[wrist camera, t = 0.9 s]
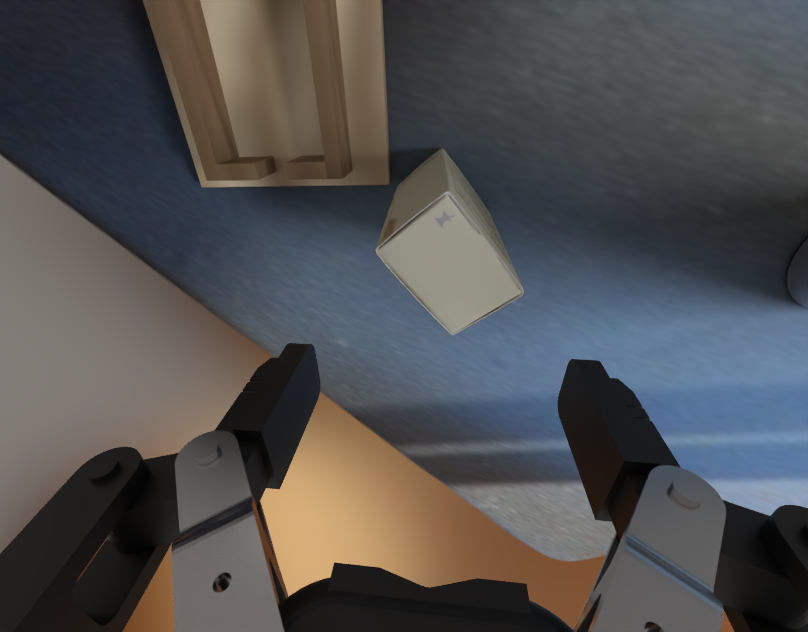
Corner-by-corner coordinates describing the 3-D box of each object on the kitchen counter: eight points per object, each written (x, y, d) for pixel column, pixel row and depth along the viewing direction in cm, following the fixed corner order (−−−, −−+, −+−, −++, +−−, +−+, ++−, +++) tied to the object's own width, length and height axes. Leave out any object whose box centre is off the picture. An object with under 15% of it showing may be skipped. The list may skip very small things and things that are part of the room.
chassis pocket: (378, -72, 19) (365, -107, 16) (390, 181, 26) (383, 195, 23) (137, -52, 21) (77, -81, 17) (209, 184, 27) (176, 197, 24)
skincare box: (395, 186, 26) (365, 246, 16) (442, 144, 25) (444, 181, 14) (447, 251, 29) (451, 341, 18) (494, 217, 27) (528, 295, 16)
